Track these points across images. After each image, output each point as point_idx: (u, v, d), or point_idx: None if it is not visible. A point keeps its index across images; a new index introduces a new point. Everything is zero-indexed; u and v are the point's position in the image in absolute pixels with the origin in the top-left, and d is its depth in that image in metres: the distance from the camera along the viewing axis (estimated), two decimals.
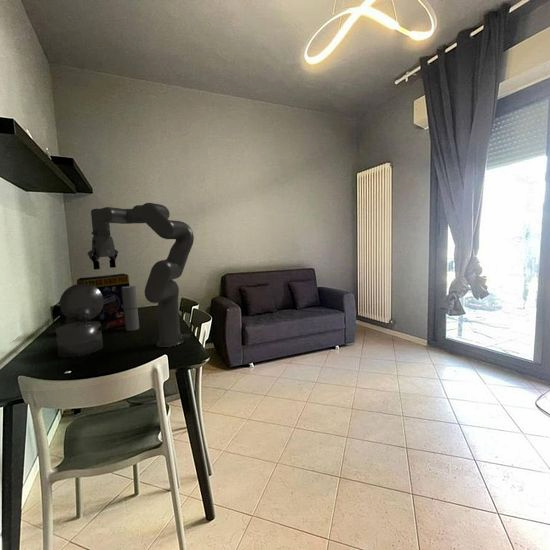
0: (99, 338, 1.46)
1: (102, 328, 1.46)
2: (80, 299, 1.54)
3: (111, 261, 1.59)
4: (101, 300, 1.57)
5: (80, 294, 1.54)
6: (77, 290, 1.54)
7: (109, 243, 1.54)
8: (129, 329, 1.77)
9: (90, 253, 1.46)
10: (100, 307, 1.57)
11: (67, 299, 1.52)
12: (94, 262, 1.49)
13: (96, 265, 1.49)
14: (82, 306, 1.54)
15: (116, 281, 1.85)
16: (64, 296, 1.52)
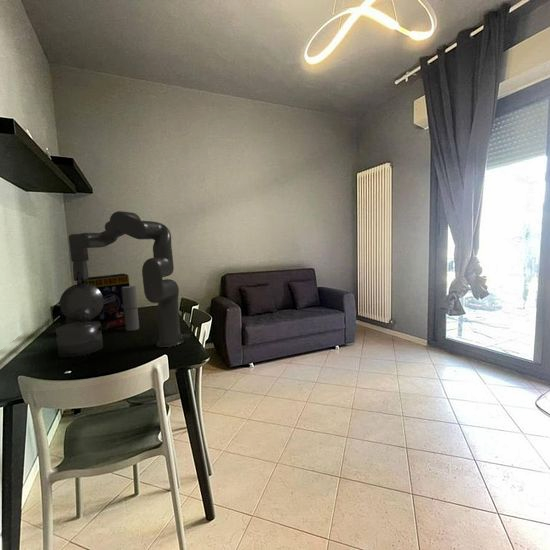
0: (99, 338, 1.46)
1: (102, 328, 1.46)
2: (80, 299, 1.54)
3: None
4: (101, 300, 1.57)
5: (80, 294, 1.54)
6: (77, 290, 1.54)
7: None
8: (129, 329, 1.77)
9: None
10: (100, 307, 1.57)
11: (67, 299, 1.52)
12: None
13: None
14: (82, 306, 1.54)
15: (116, 281, 1.85)
16: (64, 296, 1.52)
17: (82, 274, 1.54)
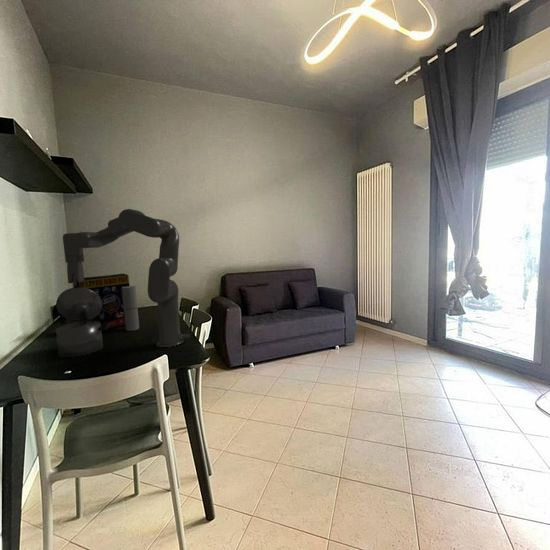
0: (99, 338, 1.46)
1: (102, 328, 1.46)
2: (77, 302, 1.48)
3: None
4: (99, 303, 1.52)
5: (76, 298, 1.47)
6: (73, 294, 1.46)
7: None
8: (129, 329, 1.77)
9: None
10: (99, 309, 1.54)
11: (63, 303, 1.46)
12: None
13: None
14: (81, 309, 1.50)
15: (116, 281, 1.85)
16: (60, 300, 1.45)
17: (77, 276, 1.44)
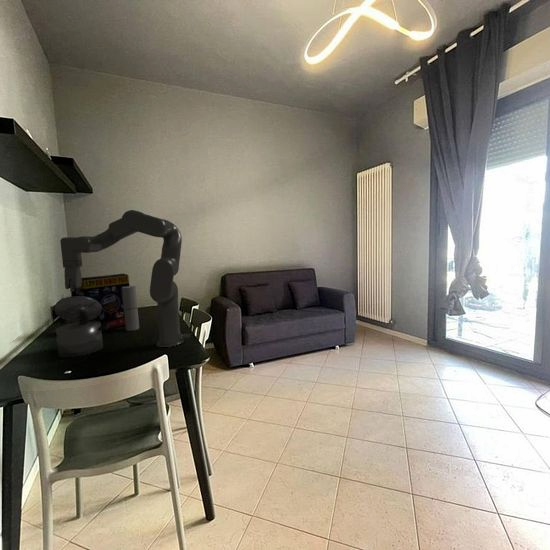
0: (99, 338, 1.46)
1: (102, 328, 1.46)
2: (76, 308, 1.46)
3: None
4: (99, 308, 1.50)
5: (75, 305, 1.44)
6: (71, 302, 1.42)
7: None
8: (129, 329, 1.77)
9: None
10: (98, 312, 1.52)
11: (62, 309, 1.43)
12: None
13: None
14: (80, 312, 1.48)
15: (116, 281, 1.85)
16: (58, 307, 1.42)
17: (74, 282, 1.40)
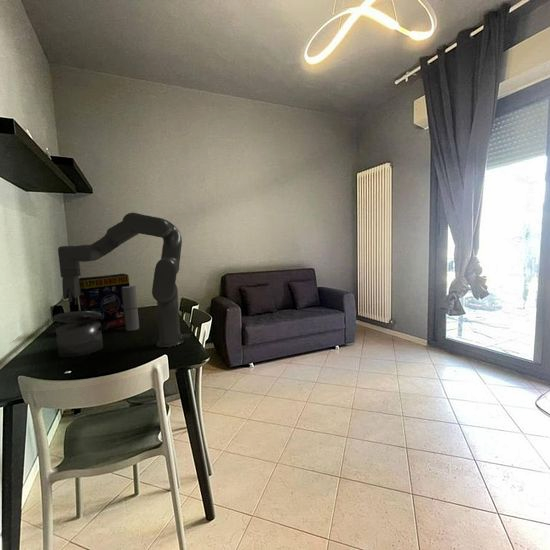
0: (99, 338, 1.46)
1: (102, 328, 1.46)
2: (75, 317, 1.43)
3: None
4: (98, 315, 1.48)
5: (74, 316, 1.41)
6: (70, 315, 1.39)
7: None
8: (129, 329, 1.77)
9: None
10: (98, 317, 1.51)
11: (61, 318, 1.41)
12: None
13: None
14: (80, 318, 1.47)
15: (116, 281, 1.85)
16: (57, 318, 1.39)
17: (73, 292, 1.36)
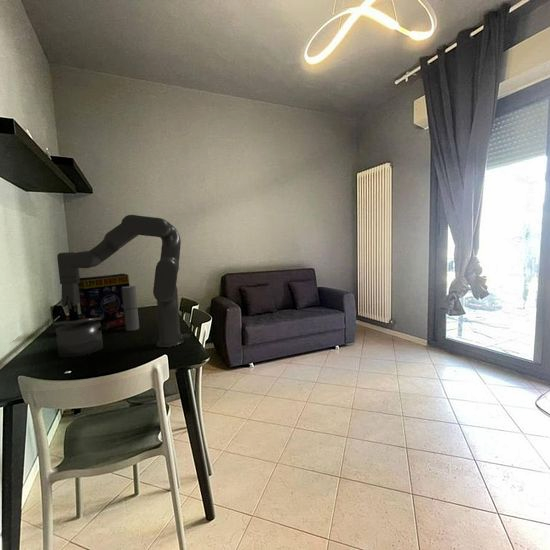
0: (99, 338, 1.46)
1: (102, 328, 1.46)
2: None
3: None
4: None
5: None
6: None
7: None
8: (129, 329, 1.77)
9: None
10: None
11: None
12: None
13: None
14: None
15: (116, 281, 1.85)
16: None
17: (72, 299, 1.34)
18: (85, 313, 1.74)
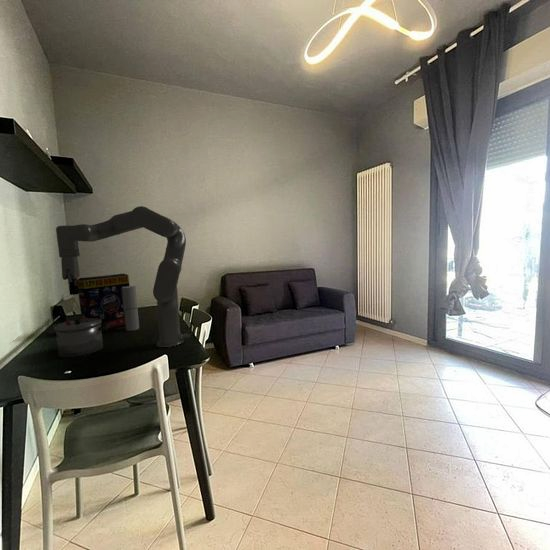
0: (99, 338, 1.46)
1: (102, 328, 1.46)
2: None
3: None
4: None
5: None
6: None
7: None
8: (129, 329, 1.77)
9: None
10: None
11: None
12: None
13: None
14: None
15: (116, 281, 1.85)
16: None
17: (72, 272, 1.33)
18: (85, 313, 1.74)
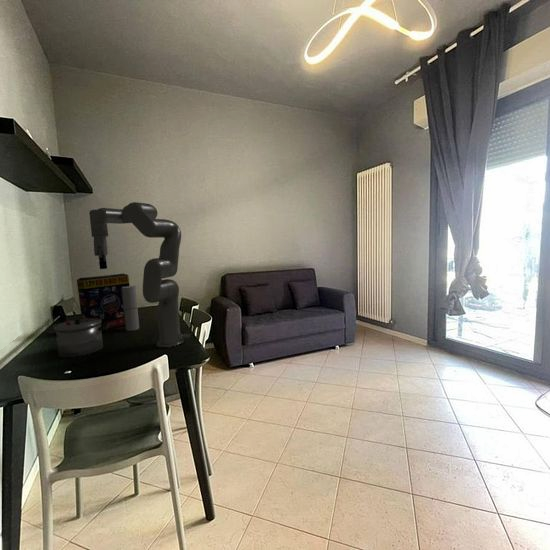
0: (99, 338, 1.46)
1: (102, 328, 1.46)
2: None
3: None
4: None
5: None
6: None
7: None
8: (129, 329, 1.77)
9: None
10: None
11: None
12: None
13: None
14: None
15: (116, 281, 1.85)
16: None
17: (102, 249, 1.57)
18: (85, 313, 1.74)
